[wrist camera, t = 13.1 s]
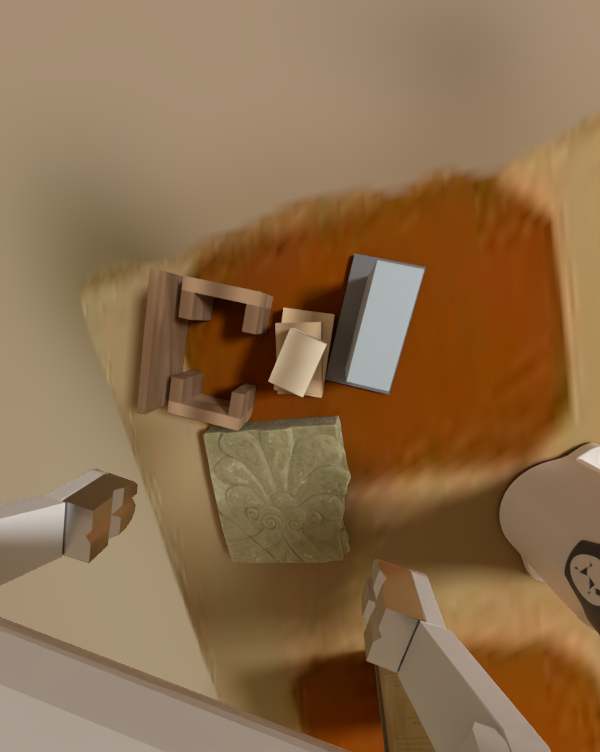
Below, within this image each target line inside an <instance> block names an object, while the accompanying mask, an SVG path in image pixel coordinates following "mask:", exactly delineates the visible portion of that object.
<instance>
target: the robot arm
mask: <svg viewBox="0 0 600 752" xmlns="http://www.w3.org/2000/svg"><path fill="white" fill-rule="evenodd" d="M137 486H138V485H137V484H136V483H135V482H133V481H130V480H128V479H125V478H122V477H119V476H116V475H113V474H110V473H106V472H104V471H101V470H98V469H93V470H90V471H88V472H86V473H85V474H83V475H81V476H79V477H78V478H76V479H74V480H72V481H71V482H69V483H67V484H65V485H64V486H62V487H60V488H58V489H57V490H55V491H53V492H52V493H50V494H48V495H46V496H45V495H37V496H32V497H28V498H23V499H19V500H14V501H10V502H6V503H1V504H0V585H2V584H5V583H7V582H9V581H11V580H13V579H15V578H17V577H19V576H22V575H24V574H26V573H28V572H30V571H32V570H35V569H37V568H39V567H41V566H43V565H45V564H47V563H49V562H52V561H54V560H56V559H58V558H60V557H62V555H64V556H67V557H71V558H74V559H77V560H80V561H83V562H87V563H90V562H91V561H92V560H93V559H94V558H95V557H96V556H97V555H98V554H99V553H100V552H101V551H102V550H103V549H104V548H105V547H106V546H107V545H108V540H109V538H112V537H114V536H117V535H119V534H120V533H121V532H122V531H123V530H124V529H125V528H126V527H127V525H128V524H129V522H130V521H131V519H132V517H133V514H134V511H135V503H134V501H133V499H132V497H133V496H134V495H136V494H137ZM499 518H500V525H501V528H502V531H503V533H504V535H505V537H506V538H507V540H508V541H509V542H510V544H511V545H512V546H513V547H514V548H515V549H516V550H517V551H518V552H519V553H520V555H521V556H522V560H523V563H524V566H525V568H526V570H527V572H528V573H529V574H530V575H531V576H532V577H533V578H534V579H535V580H537V581H541V582H545V583H546V584H547V585H548V586H549V587H550V588H551V589H552V591H553V592H554V593H555V594H556V595H557V596H558V597H559V598H560V599H561V600H562V601H563V602H564V603H565V604H566V606H567V607H568V608H569V609H570V610H571V611H572V612H573V613H574V614H575V615H576V616H577V617H578V618H579V619H580V620H581V621H582V622H583V623H584V624H585V625H586V626H587V627H589V628H591V629H593V630H596V631H597V632H598V633H599V635H600V444H597V443H588V444H585V445H583V446H581V447H579V448H578V449H576V450H575V451H573V452H572V453H570V454H569V455H567V456H565V457H563V458H559V459H556V460H552V461H548V462H545V463H542V464H539V465H537V466H535V467H533V468H531V469H529V470H527V471H526V472H524V473H523V474H521V475H520V476H519V477H518V478H517V479H516V480H515V481H514V482H513V483H512V484H511V485H510V486H509V488H508V489H507V491H506V493H505V494H504V496H503V499H502V502H501V505H500V512H499ZM371 574H372V577H371V578H369V579H368V580H367V581H366V584H365V587H364V591H363V598H362V615H363V618H364V620H365V622H366V623H367V626H366V629H365V632H364V640H365V652H366V661H368V662H370V663H373V664H376V665H378V666H381V667H383V668H386V669H388V670H391V671H394V672H396V673H398V677H399V679H400V681H401V683H402V685H403V687H404V689H405V691H406V693H407V695H408V697H409V699H410V701H411V703H412V705H413V707H414V709H415V711H416V713H417V715H418V717H419V719H420V721H421V723H422V725H423V727H424V729H425V731H426V733H427V735H428V737H429V739H430V741H431V743H432V745H433V747H434V749H435V751H436V752H551V751H550V749H549V747H548V746H547V744H546V743H545V742H544V741H543V740H542V738H541V737H540V736H539V735H538V734H537V732H536V731H535V730H534V729H533V728H532V726H531V725H530V724H529V723H528V722H527V720H526V719H525V718H524V717H523V716H522V714H521V713H520V712H519V711H518V710H517V709H516V707H515V706H514V705H513V704H512V703H511V701H510V700H509V699H508V698H507V697H506V695H505V694H504V693H503V692H502V691H501V689H500V688H499V687H498V686H497V685H496V683H495V682H494V681H493V680H492V679H491V677H490V676H489V675H488V674H487V673H486V671H485V670H484V669H483V668H482V667H481V666H480V664H479V663H478V662H477V661H476V660H475V658H474V657H473V656H472V655H471V654H470V652H469V651H468V650H467V649H466V648H465V646H464V645H463V644H462V643H461V642H460V640H459V639H458V638H457V637H456V636H455V634H454V633H453V632H452V631H450V630H447V629H446V627H445V625H444V622H443V619H442V616H441V613H440V611H439V608H438V605H437V602H436V599H435V597H434V594H433V591H432V588H431V585H430V583H429V580H428V577H427V575H426V574H425V573H423V572H420V571H416V570H413V569H410V568H405V567H402V566H399V565H395V564H392V563H389V562H386V561H382V560H379V559H375V560H374V561H373V564H372V566H371ZM0 752H351V751H348V750H345V749H343V748H340V747H338V746H335V745H332V744H330V743H327V742H324V741H322V740H319V739H317V738H314V737H311V736H309V735H306V734H304V733H301V732H298V731H296V730H293V729H290V728H288V727H285V726H283V725H280V724H277V723H275V722H272V721H270V720H267V719H264V718H262V717H259V716H256V715H254V714H251V713H249V712H246V711H243V710H241V709H238V708H236V707H233V706H230V705H228V704H225V703H222V702H220V701H217V700H214V699H212V698H209V697H206V696H204V695H202V694H199V693H196V692H194V691H191V690H188V689H186V688H183V687H181V686H178V685H175V684H173V683H170V682H167V681H165V680H163V679H160V678H157V677H155V676H152V675H149V674H146V673H144V672H142V671H139V670H137V669H134V668H131V667H129V666H126V665H124V664H121V663H118V662H116V661H113V660H111V659H108V658H105V657H103V656H100V655H98V654H95V653H92V652H90V651H87V650H84V649H82V648H79V647H77V646H74V645H72V644H69V643H66V642H64V641H61V640H59V639H56V638H53V637H51V636H48V635H45V634H43V633H40V632H38V631H35V630H33V629H30V628H27V627H24V626H22V625H20V624H17V623H14V622H12V621H9V620H6V619H4V618H1V617H0Z"/></svg>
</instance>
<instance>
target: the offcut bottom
mask: <svg viewBox="0 0 600 752" xmlns="http://www.w3.org/2000/svg"><path fill="white" fill-rule="evenodd" d="M334 317H335V314H328V313H320V312H313V311H305V310H298V309H290V308H283V315H282V323H300V322H322V341H325V342H327V343H328V344H327V346H326V348H325V350H324V352H323V387H324V381H325V374H326V368H327V361H328V355H329V349H330V342H331V336H332V329H333V323H334ZM274 390H278V386H277V385H275V384H274ZM322 393H323V390H322ZM304 395H308V396H314V397H320V398H322V394H321V395H313V394H304Z"/></svg>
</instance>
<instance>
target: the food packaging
mask: <svg viewBox="0 0 600 752" xmlns="http://www.w3.org/2000/svg"><path fill="white" fill-rule="evenodd" d="M375 673H376V682H377V691H378V699H379V708H380V716H381V724H382V732H383V741H384V749H385V752H436V751H435V749H434V747H433V745H432V743H431V741H430V739H429V737H428V735H427V733H426V731H425V729H424V727H423V725H422V723H421V721H420V719H419V717H418V715H417V713H416V711H415V709H414V707H413V705H412V703H411V701H410V699H409V697H408V695H407V693H406V691H405V689H404V687H403V685H402V683H401V681H400V679H399V677H398V673H396V672H394V671H391V670H388V669H386V668H383V667H381V666H378V665H376V664H375Z"/></svg>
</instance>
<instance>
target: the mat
mask: <svg viewBox="0 0 600 752" xmlns="http://www.w3.org/2000/svg"><path fill="white" fill-rule="evenodd" d="M377 260H379V261H385V262H390V263H395V264H400V265H405V266H410V267H415V268H421V269H424V272H425V268H426V267H423V266H418V265H412V264H407V263H402V262H397V261H391V260H386V259H381V258H376V257H370V256H365V255H360V254H354V258H353V262H352V267H351V271H350V275H349V279H348V284H347V288H346V292H345V296H344V301H343V305H342V309H341V313H340V317H339V322H338V326H337V330H336V334H335V339H334V343H333V347H332V351H331V356H330V360H329V364H328V368H327V373H326V377H325V380H329V381H333V382H338V383H342V384H346V385H350V386H354V387H359V388H363V389H367V390H371V391H376V392H380V393H384V394H388V395H389V393H390V389H391V386H392V382H393V379H394V376H393V379H392V382H391V386H390V389H389V391H385V390H381V389H376V388H372V387H368V386H364V385H359V384H355V383H351V382H347V381H346V373H345V366H346V362H347V358H348V354H349V350H350V346H351V342H352V338H353V334H354V330H355V326H356V322H357V318H358V314H359V310H360V306H361V302H362V298H363V294H364V290H365V286H366V282H367V278H368V275H369V274H370V272H371V270H372V269H373V267H374V265H375V264H376V262H377ZM424 272H423V275H424ZM422 279H423V276H422ZM422 279H421V282H422ZM420 286H421V283H420ZM420 286H419V289H420ZM418 293H419V290H418ZM418 293H417V296H418ZM416 299H417V297H416ZM415 303H416V300H415ZM415 303H414V306H415ZM413 310H414V307H413ZM413 310H412V313H413ZM411 317H412V314H411ZM411 317H410V320H411ZM409 324H410V321H409ZM409 324H408V327H409ZM408 327H407V331H408ZM407 331H406V334H407ZM406 334H405V337H406ZM404 341H405V338H404ZM404 341H403V344H404ZM402 348H403V345H402ZM402 348H401V351H402ZM401 351H400V355H401ZM400 355H399V358H400ZM399 358H398V362H399ZM398 362H397V365H398ZM397 365H396V368H397ZM395 372H396V369H395ZM395 372H394V375H395Z"/></svg>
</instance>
